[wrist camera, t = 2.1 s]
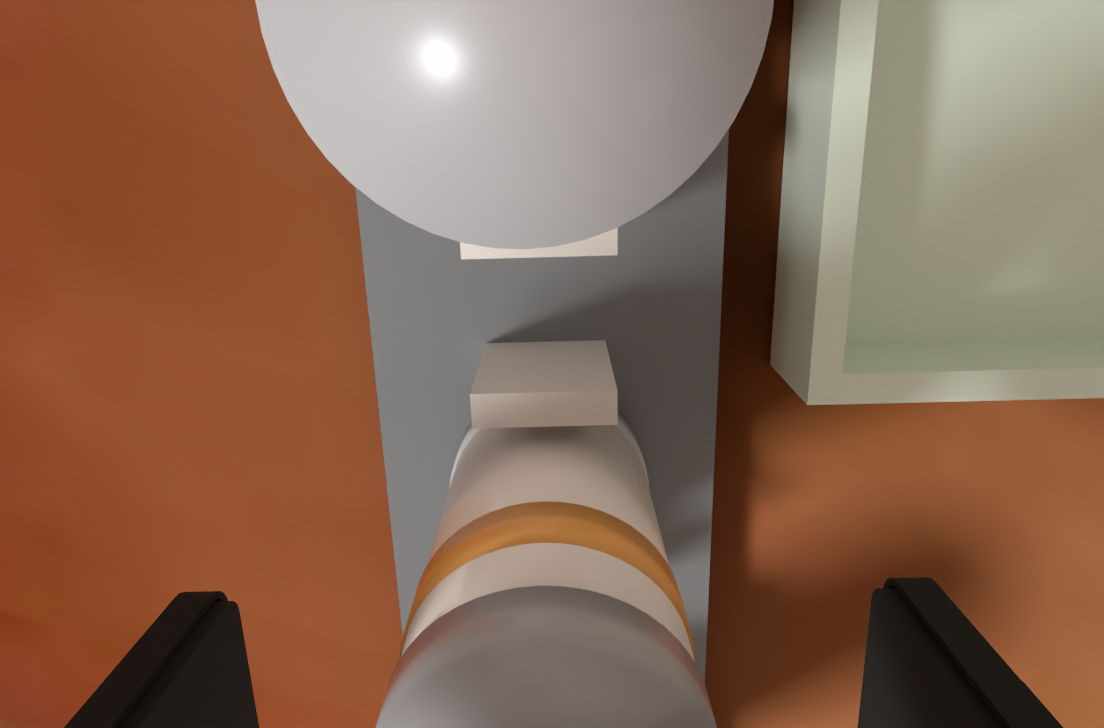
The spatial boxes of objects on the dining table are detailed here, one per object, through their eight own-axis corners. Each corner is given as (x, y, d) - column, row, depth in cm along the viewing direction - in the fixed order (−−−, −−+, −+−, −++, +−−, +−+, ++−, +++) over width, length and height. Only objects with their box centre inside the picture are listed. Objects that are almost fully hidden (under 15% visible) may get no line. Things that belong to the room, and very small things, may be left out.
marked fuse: (449, 386, 15) (343, 648, 7) (644, 381, 15) (737, 640, 7) (461, 556, 16) (381, 931, 9) (642, 552, 16) (721, 925, 9)
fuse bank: (343, -96, 14) (-44, -507, 5) (724, -108, 13) (1042, -548, 5) (433, 819, 20) (342, 1349, 11) (689, 815, 20) (793, 1343, 11)
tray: (805, -181, 13) (861, -250, 11) (1385, -200, 13) (1571, -274, 11) (770, 364, 16) (807, 405, 14) (1237, 353, 16) (1356, 391, 14)
